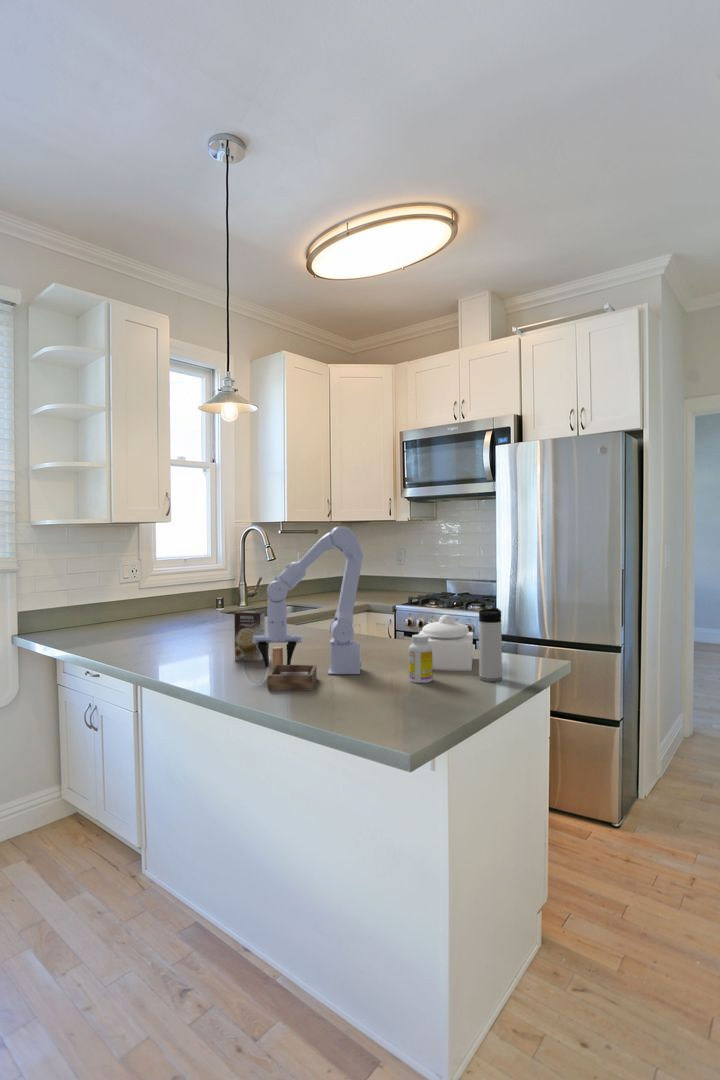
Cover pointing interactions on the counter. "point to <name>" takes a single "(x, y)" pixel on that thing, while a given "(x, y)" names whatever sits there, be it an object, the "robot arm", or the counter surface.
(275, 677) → the peg box
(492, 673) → the travel mug
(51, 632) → the counter surface
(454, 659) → the white lidded jar
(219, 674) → the counter surface
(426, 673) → the supplement bottle
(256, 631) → the coffee box
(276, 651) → the peg
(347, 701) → the counter surface
